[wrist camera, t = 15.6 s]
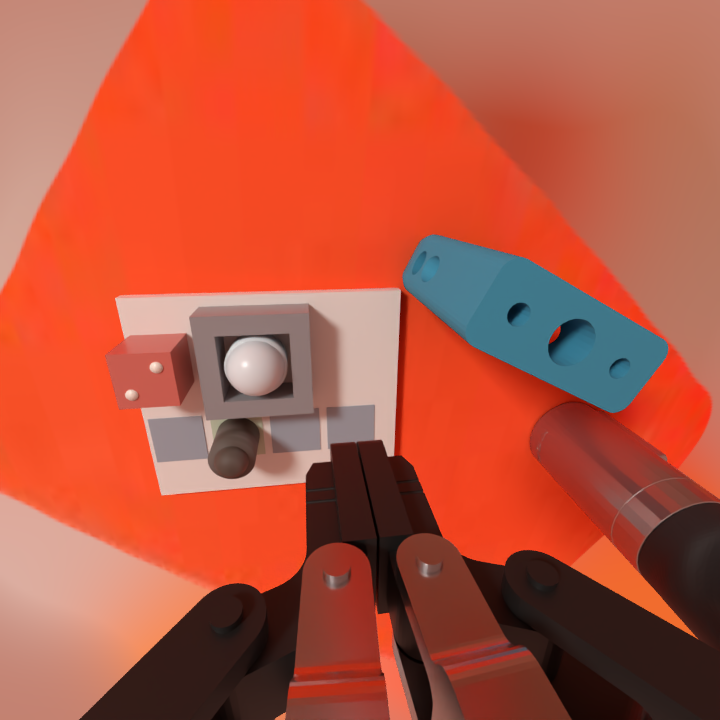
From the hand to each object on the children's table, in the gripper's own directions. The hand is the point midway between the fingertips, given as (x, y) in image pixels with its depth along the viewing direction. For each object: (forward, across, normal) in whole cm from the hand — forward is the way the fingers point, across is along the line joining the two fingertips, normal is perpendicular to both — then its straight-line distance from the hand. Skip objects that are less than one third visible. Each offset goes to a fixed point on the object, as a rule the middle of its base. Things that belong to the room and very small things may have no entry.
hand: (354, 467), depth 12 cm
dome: (+27, +6, +7) cm, 29 cm away
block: (+29, -13, 0) cm, 32 cm away
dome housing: (+28, +6, +7) cm, 29 cm away
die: (+28, +15, +7) cm, 32 cm away
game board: (+29, +5, +12) cm, 32 cm away
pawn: (+28, +9, +16) cm, 33 cm away
